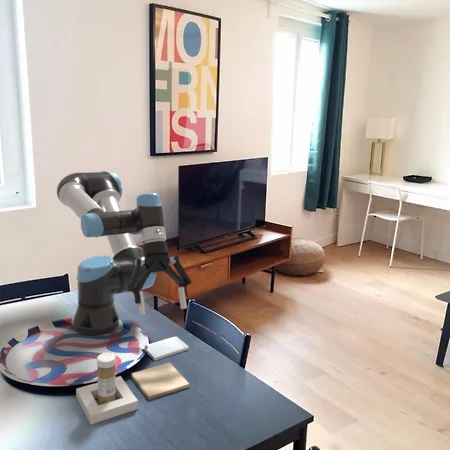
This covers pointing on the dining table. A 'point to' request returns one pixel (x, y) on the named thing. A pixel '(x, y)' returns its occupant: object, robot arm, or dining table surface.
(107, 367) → the sprinkles bottle
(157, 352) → the hard drive
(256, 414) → the dining table surface
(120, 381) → the socket block
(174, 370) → the birch board
